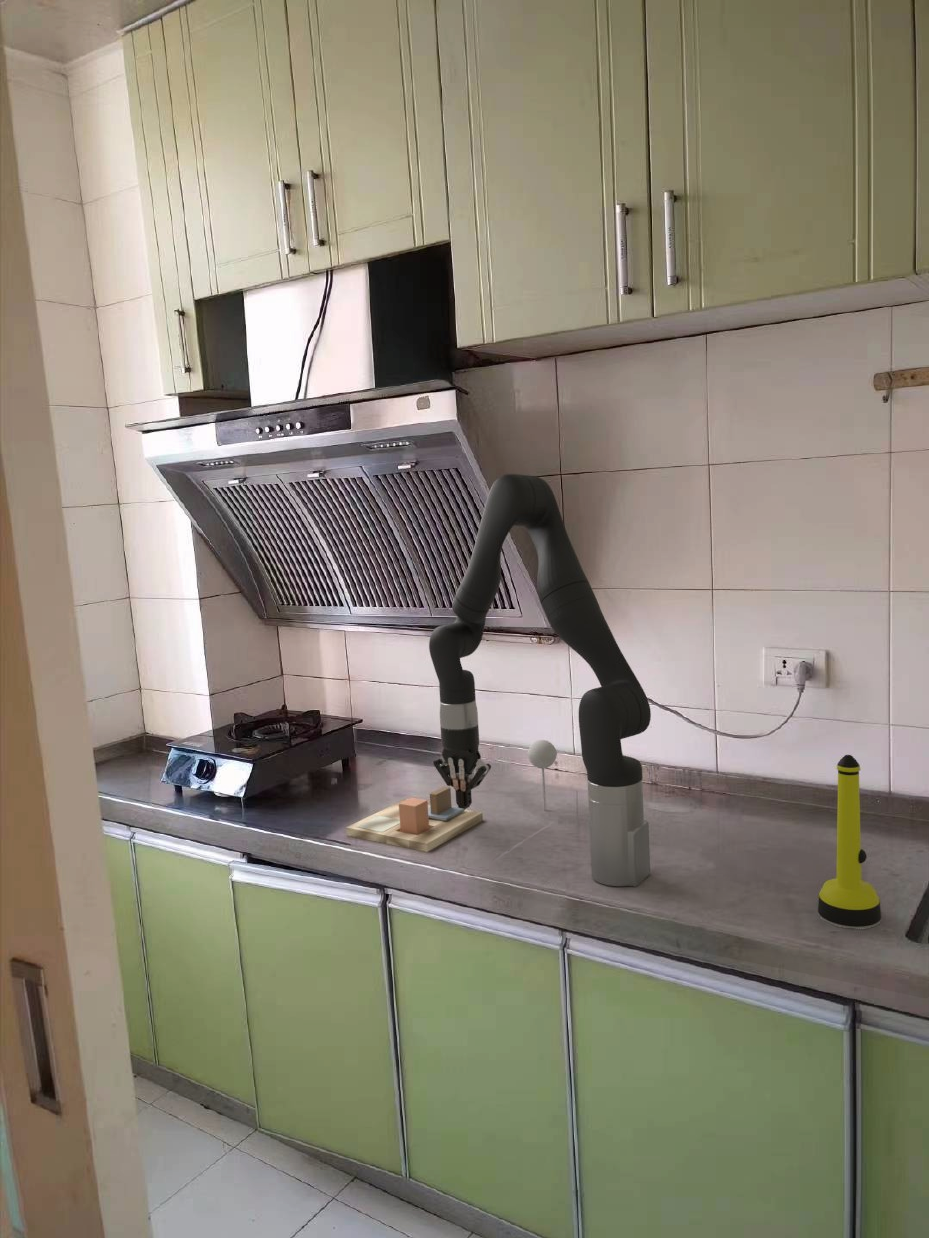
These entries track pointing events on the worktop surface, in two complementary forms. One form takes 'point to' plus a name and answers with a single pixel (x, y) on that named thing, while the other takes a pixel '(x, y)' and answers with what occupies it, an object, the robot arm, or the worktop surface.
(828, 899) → the flashlight
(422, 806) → the block
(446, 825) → the board
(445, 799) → the lid
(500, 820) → the worktop surface
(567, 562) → the robot arm
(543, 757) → the lollipop
